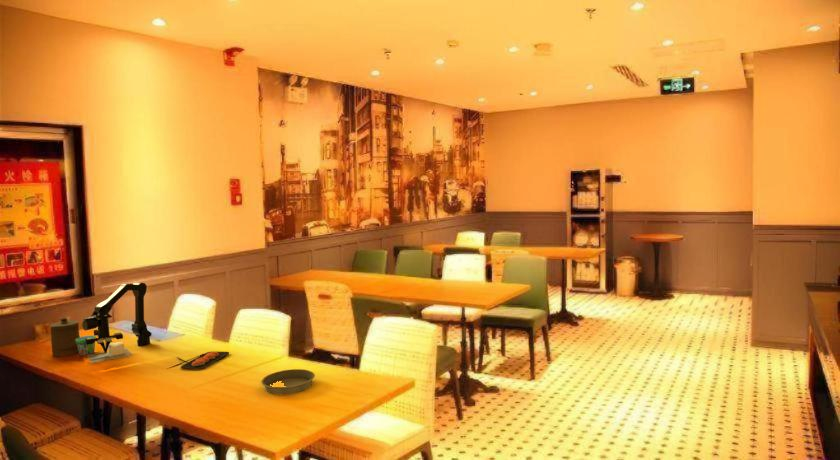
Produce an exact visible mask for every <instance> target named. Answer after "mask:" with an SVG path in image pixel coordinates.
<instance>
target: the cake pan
mask: <svg viewBox="0 0 840 460" xmlns="http://www.w3.org/2000/svg"><path fill="white" fill-rule="evenodd" d="M315 377H316V375H315V372H313V371H311V370H308V369H304V368H303V369H301V368H299V369H296V368H294V369H285V370H280V371H276V372H272V373H270V374H268V375H266V376H264V377H263V378H262V379H261V381H260V382H261V384H262V386H264V389H265V391H266V393H268V392H269V394H272V395H276V394H279V396H283V395H285V394H287V395H292V394H293V395H294V394H298V393H301V392H303V391H306V390H308V389H309V388H311V387H312V385H313V380H314V379H315ZM277 381H278V382H279V381H282V382H281V383H284V386H286V387H272V386H270V384H271V385H273V383H276V382H277ZM280 394H282V395H280ZM285 396H286V395H285Z"/></svg>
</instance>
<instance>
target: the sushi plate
mask: <svg viewBox="0 0 840 460" xmlns="http://www.w3.org/2000/svg"><path fill="white" fill-rule="evenodd" d="M229 354H230V352H229V351H207V352H205V353H202V354H199V355H196V356H195V357H192V358H190V359H187V360H184V359H182V358H181V357H178V356H176V358H177V360H179V361H182V362H179V363H177V364H175V365H173V366H171V367H168V368H166V370H168V369H171V368H174V367H177V366H180V365H181V366H180V369H181V370H183V369H185V370H201V369H205V368H207V367H209V366H211V365H213V364H215V363H216V362H217V361H219V360H221V359H223V358H225V357H226V356H229ZM182 364H183V365H182Z"/></svg>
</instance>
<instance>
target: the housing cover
mask: <svg viewBox="0 0 840 460" xmlns="http://www.w3.org/2000/svg"><path fill="white" fill-rule="evenodd" d="M125 349H126V348H125V344H124V343H123V342H122V341H118V342H117V341H116V342H110V344H109V346H108V349H107V351H108V352H109V353H110V355H111V356H114V355H119V354H124V353H125Z"/></svg>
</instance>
